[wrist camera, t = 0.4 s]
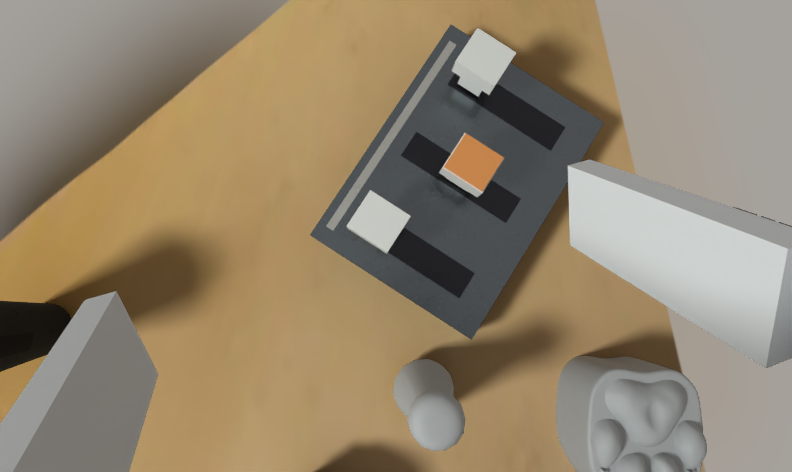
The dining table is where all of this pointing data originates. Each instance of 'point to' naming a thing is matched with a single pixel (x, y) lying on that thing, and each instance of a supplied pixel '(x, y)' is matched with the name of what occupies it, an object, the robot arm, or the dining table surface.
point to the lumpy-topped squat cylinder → (628, 417)
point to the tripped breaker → (471, 165)
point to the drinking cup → (29, 331)
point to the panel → (450, 204)
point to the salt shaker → (429, 404)
